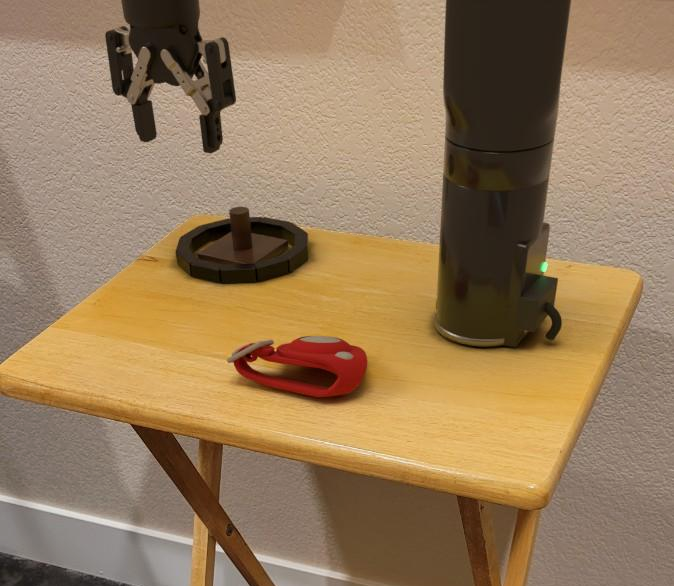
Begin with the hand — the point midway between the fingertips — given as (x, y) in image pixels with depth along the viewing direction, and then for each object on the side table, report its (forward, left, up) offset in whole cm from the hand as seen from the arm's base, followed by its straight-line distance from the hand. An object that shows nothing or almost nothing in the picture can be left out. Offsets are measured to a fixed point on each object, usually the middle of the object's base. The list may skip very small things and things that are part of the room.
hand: (180, 145), depth 95 cm
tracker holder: (-27, +20, -11) cm, 35 cm away
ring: (-7, 0, -11) cm, 13 cm away
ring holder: (-7, 0, -11) cm, 13 cm away
